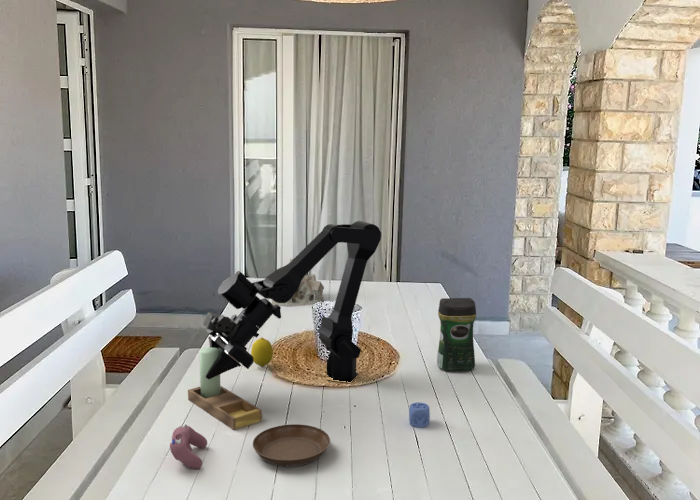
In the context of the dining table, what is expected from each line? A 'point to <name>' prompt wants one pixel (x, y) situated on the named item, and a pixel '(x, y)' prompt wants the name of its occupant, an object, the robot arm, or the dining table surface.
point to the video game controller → (187, 446)
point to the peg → (206, 361)
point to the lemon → (262, 352)
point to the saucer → (291, 444)
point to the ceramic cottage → (305, 292)
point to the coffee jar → (456, 334)
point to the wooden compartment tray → (227, 408)
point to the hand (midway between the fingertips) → (204, 374)
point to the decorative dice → (419, 414)
